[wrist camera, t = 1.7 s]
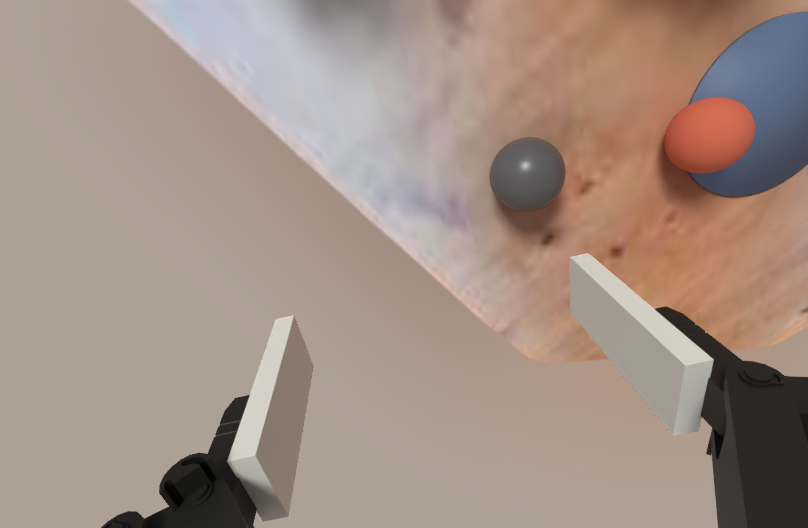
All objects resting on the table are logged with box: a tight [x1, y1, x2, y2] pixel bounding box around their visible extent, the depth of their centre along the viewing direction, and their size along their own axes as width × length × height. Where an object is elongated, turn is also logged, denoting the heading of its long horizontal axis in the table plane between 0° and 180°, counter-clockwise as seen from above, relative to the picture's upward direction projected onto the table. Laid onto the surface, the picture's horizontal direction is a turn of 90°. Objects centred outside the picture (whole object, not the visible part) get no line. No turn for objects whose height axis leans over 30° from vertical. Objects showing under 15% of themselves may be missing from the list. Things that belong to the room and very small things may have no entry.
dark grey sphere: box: [490, 137, 565, 211], centre depth 31 cm, size 6×6×6 cm
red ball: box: [664, 97, 755, 173], centre depth 30 cm, size 6×6×6 cm
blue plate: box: [689, 12, 808, 196], centre depth 33 cm, size 14×14×1 cm
